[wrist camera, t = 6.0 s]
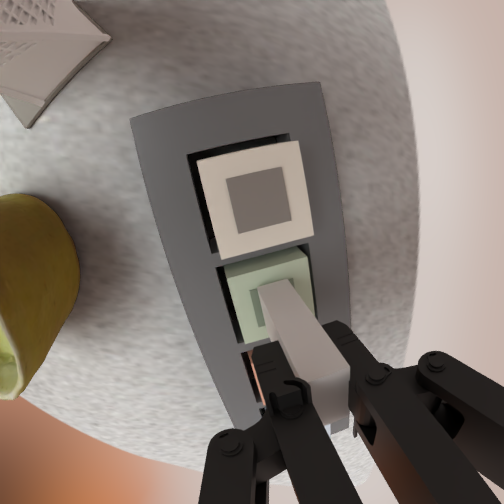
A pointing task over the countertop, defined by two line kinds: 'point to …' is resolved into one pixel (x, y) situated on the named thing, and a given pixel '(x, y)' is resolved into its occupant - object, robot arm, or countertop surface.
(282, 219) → the key ivory
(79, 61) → the skyscraper
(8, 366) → the mug
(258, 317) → the key sage
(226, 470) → the robot arm
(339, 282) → the keyguard frame
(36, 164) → the countertop surface
